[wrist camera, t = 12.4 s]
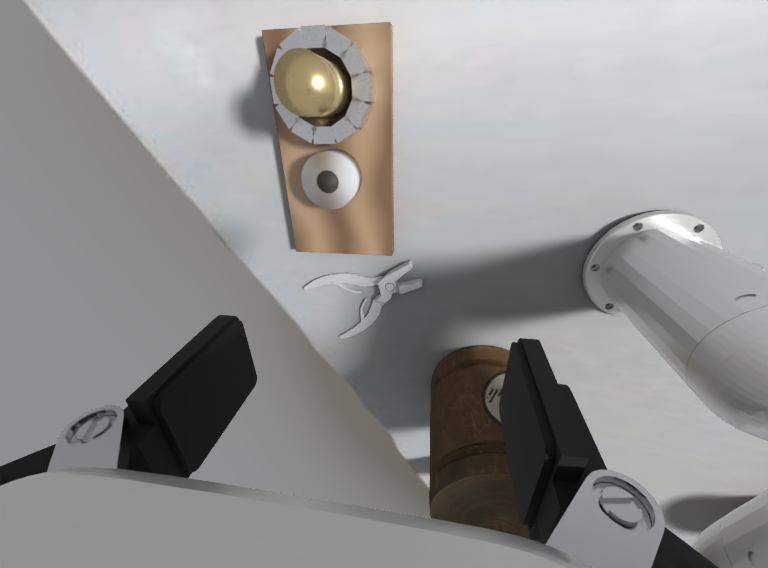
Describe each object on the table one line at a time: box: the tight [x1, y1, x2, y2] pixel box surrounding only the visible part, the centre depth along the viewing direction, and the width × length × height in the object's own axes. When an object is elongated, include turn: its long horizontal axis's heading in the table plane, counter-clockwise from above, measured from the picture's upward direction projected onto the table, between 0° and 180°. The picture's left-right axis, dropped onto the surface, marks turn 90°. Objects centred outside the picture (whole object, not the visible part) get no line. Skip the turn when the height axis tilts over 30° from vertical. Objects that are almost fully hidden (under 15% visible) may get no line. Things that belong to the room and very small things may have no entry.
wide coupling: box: [270, 25, 375, 144], centre depth 30 cm, size 9×9×3 cm
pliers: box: [303, 260, 423, 339], centre depth 43 cm, size 10×2×15 cm
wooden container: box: [429, 346, 542, 543], centre depth 38 cm, size 15×15×22 cm
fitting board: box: [262, 22, 394, 256], centre depth 34 cm, size 12×22×5 cm, turn 1°
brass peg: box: [274, 48, 353, 117], centre depth 28 cm, size 4×4×8 cm
